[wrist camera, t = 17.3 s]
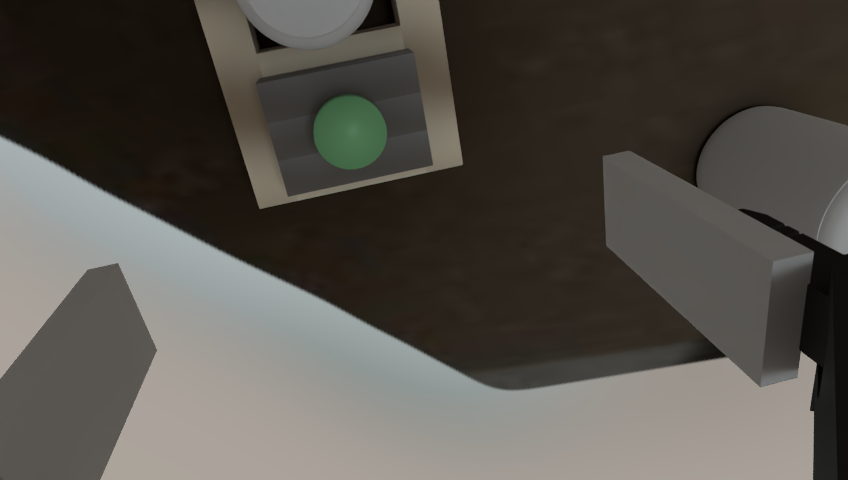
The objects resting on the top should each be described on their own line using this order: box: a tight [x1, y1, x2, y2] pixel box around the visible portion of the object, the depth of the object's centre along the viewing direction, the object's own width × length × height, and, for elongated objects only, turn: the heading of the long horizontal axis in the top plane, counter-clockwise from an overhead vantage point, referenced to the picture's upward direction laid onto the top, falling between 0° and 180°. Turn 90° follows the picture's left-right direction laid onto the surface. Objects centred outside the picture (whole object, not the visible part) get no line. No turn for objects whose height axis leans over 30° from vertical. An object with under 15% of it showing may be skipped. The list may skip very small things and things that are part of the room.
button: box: [313, 94, 387, 169], centre depth 30 cm, size 4×4×3 cm
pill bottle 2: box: [696, 106, 848, 255], centre depth 33 cm, size 8×8×15 cm
